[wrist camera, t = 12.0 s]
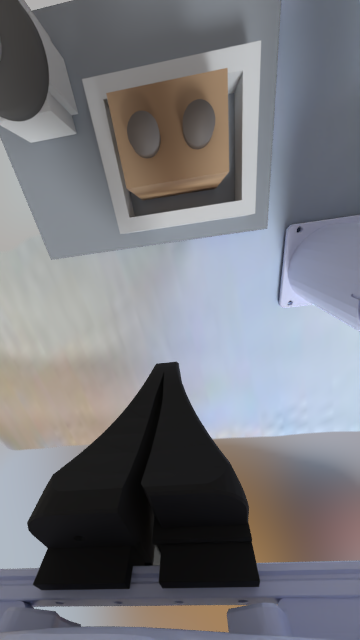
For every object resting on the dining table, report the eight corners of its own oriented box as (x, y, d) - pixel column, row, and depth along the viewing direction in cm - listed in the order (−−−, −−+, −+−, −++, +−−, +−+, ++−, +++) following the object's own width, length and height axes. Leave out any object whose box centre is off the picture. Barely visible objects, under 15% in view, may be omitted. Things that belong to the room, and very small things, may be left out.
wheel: (59, 29, 12) (-20, -96, 7) (86, 135, 14) (40, 90, 9) (-15, 47, 12) (-134, -62, 8) (23, 147, 14) (-51, 110, 10)
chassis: (276, -30, 11) (312, -132, 8) (262, 228, 17) (280, 228, 14) (-29, 43, 13) (-99, -18, 10) (57, 258, 19) (31, 264, 16)
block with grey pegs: (212, 121, 13) (231, 53, 8) (215, 188, 15) (232, 167, 10) (131, 137, 14) (99, 81, 9) (143, 200, 16) (122, 185, 10)
